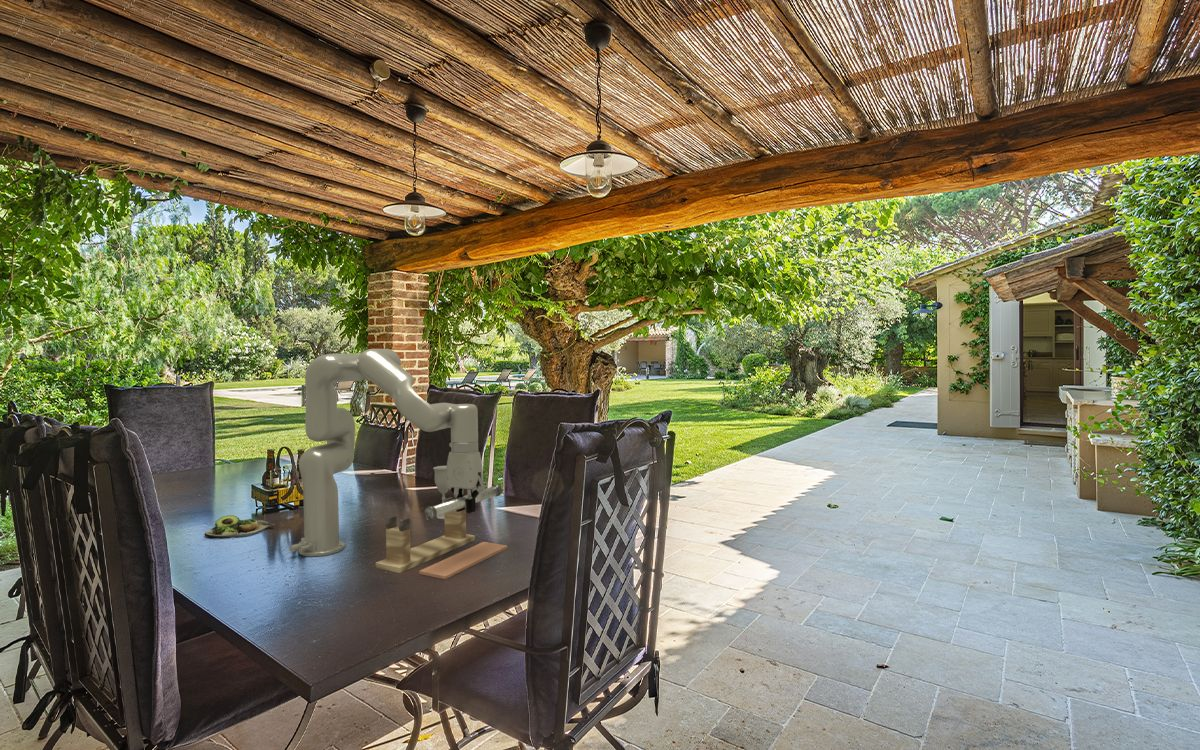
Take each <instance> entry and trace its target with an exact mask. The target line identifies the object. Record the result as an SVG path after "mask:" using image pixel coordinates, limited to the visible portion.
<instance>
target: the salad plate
mask: <svg viewBox="0 0 1200 750" xmlns="http://www.w3.org/2000/svg"><path fill="white" fill-rule="evenodd" d="M275 525H276V524H275V523H271V522H268V521H266V520H257V519H256V518H254V519H253V518H248V519H246V518H245V519H240V518H239V517H238V516H237V515H231V514H230V515H224V516H221V517H220V518H219V517H218V519H217V520H216V521H214V527H212V528H210V529H208V530H206V531H205V532H204V536H205V537H206V538H208V539H213V538H220V539H231V537H235V538H243V537H242V536H244V537H250V536H253V535H257V534H259V532H260V533H262V532H263V531H264V530H266V529H267V528H269V527H274V526H275ZM262 530H263V531H262ZM240 532H244V533H240ZM245 532H247V533H245ZM237 533H238V534H237Z"/></svg>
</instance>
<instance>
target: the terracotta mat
mask: <svg viewBox="0 0 1200 750" xmlns="http://www.w3.org/2000/svg"><path fill="white" fill-rule="evenodd" d="M508 548H509V547H508V545H507V544H501V543H493V542H487V541H482V542H480V543H478V544H476V545H473V546H470V547H469V548H466V549H465V550H462V551H459V552H458V553H455V554H453V555H451V556H449V557H447V558H444V559H443V560H441V561H438V562H435V563H433V564H431V565H430V566H426V567H425V568H422V569H420V570H419V572H418V574H419V575H422V576H423V575H424V576H426V577H427V576H428V577H433V578H438V579H442V580H447V579H449V578H450V577H453V576H455V575H457V574H458V573H461V572H463V571H465V570H467V569H470V568H471V567H473V566H474V565H475V566H476V565H477V564H479V563H481V562H483V561H485V560H486V559H490V558H492V557H493V556H495V555H497V554H499V553H501V552H503V551H505V550H507V549H508Z"/></svg>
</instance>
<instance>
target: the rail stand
mask: <svg viewBox="0 0 1200 750" xmlns="http://www.w3.org/2000/svg"><path fill="white" fill-rule="evenodd" d="M451 500H454V497H452V496H450V497H448V498H446V499H444V503H445V502H448V501H451ZM466 515H467V509H466V507H465V510H462V511H460V512H456V510H455V511H452V512H449V513H447V514H444V519H443V520H444V535H443V534H442V535H441V536H439V537H437V538H434V539H431V540H429V541H426V542H424V543H421V544H419V545H417V546H414V547H411V518H410V517H405V518H402V519H400V520H398V522H397V515H391V516H388V517H386V518H385V554H386V558H384V559H381V560H379V561H376V562H375V569H379V570H383V571H388V572H390V573H391V572H392V573H395V574H401V573H403V572H404V573H405V572H406V571H408V570H411V569H412V568H415V567H417V566H420V565H422V564H424V563H426V562H429V561H432V560H433V559H435V558H438V557H440V556H442V555H444V554H447V553H450V552H451V551H453V550H456V549H458V548H460V547H463V546H465V545H468V544H469V543H471V542H474V541H476V536H475V535H473V534H467V523H466V522H467V516H466ZM397 523H398V526H397Z"/></svg>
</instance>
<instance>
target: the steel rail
mask: <svg viewBox="0 0 1200 750" xmlns="http://www.w3.org/2000/svg"><path fill="white" fill-rule="evenodd" d="M502 494H503V489H502V486H501V485H500V484H493V485H492V486H490V487H488V488H487V487H486V488H485V490H484V491H482V492H480V493H479V494H478V495H477V497H476V498H475V503H476V504H477V503H479V502H482V501H486V500H488V499H491V498H494V497H496V498H497V497H499V496H501V495H502ZM467 499H468V494H466V495H463V497H460V498H457V499H456V498H453V500H451V501H448V502H445V503H442V502H441V503H442V504H441V503H439V504H436V505H433V506H432V505H428V506H426V507H425V508H424V510H423V517H424V518H425V519H426V520H427V521H432V520H433V521H434V520H436V519H437V517H438V516H441V515H444V514H447V513H449V512H452V511H455V510H458V509H461V508H463V507H466V504H467V502H466V500H467Z"/></svg>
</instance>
